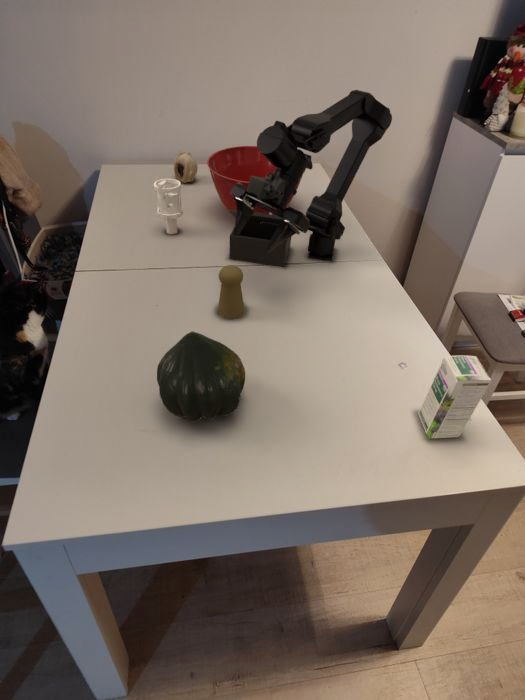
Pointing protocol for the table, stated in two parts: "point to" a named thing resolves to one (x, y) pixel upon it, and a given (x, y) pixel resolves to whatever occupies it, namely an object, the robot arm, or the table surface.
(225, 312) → the peg doll
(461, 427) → the syrup box
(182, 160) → the beige rounded hollow piece
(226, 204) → the mixing bowl
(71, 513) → the table surface
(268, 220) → the lid
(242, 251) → the open black tray
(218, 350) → the squash
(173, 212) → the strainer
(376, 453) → the table surface
